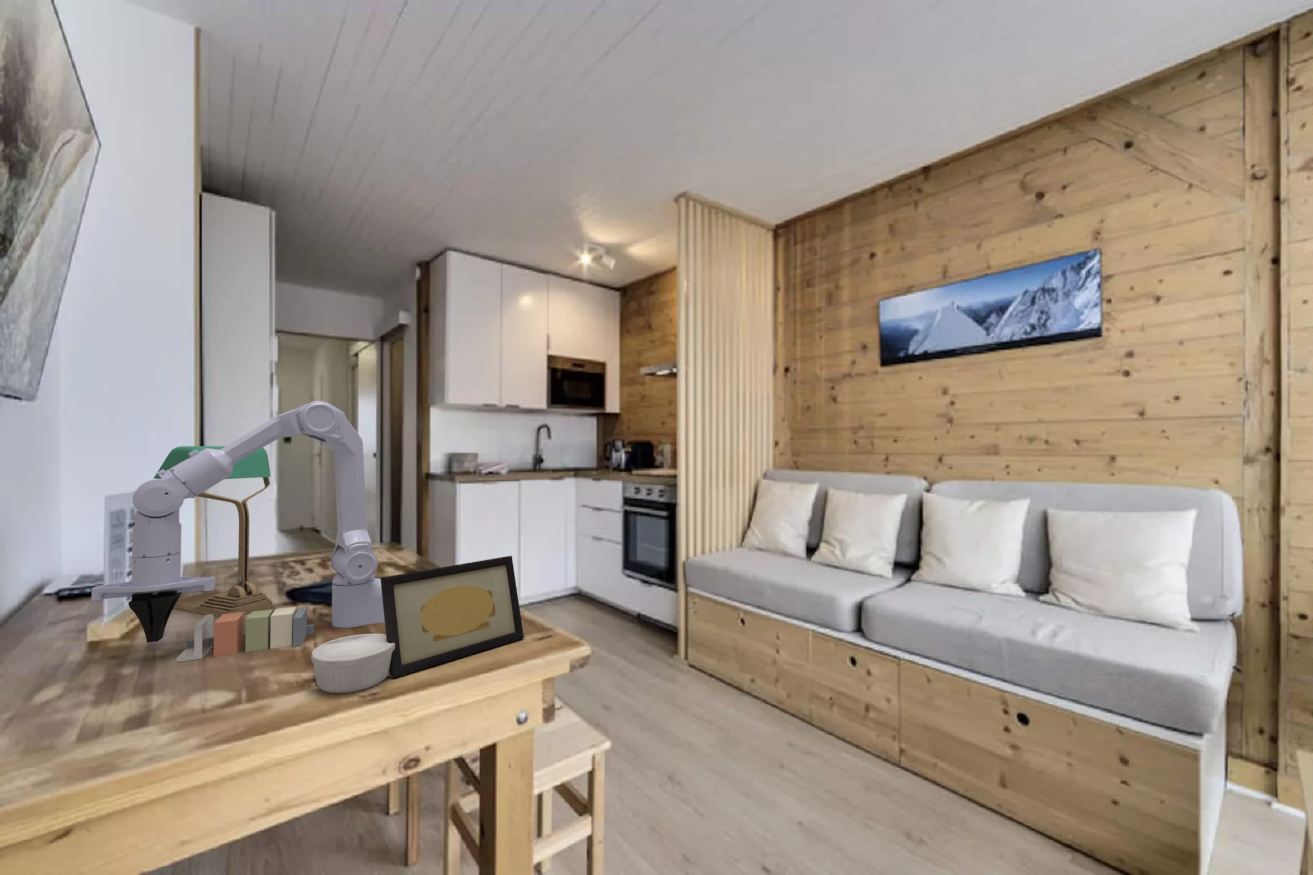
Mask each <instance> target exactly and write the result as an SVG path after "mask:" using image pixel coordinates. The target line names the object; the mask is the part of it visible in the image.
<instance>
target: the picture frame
mask: <svg viewBox="0 0 1313 875" xmlns="http://www.w3.org/2000/svg"><path fill="white" fill-rule="evenodd" d="M379 579H381V590H382V600H383V610H384V621H385V622H384V629H385V631H384V632H385V635H386V641H387V642H388V643H395V649H394V650H393V651H392V655H391V662H390V671H389V678H390V679H395V678H397V677H401V676H403V675H406V674H410V673H413V672H417V671H420V670H424V669H426V668H430V667H434V666H437V665H440V664H443V663H446V662H451V661H452V660H457V659H459V658H463V657H467V656H470V655H472V654H476V653H479V652H483V651H486V650H489V649H492V648H493V649H494V648H496V647H498V646H502V645H505V644H509V643H512V642H516V641H519V640H522V639H524V638H525V635H524V629H523V622H522V615H521V609H520V601H519V596H518V588H517V581H516V576H515V568H514V561H513V555H507V556H499V557H496V558H489V559H488V558H487V559H484V560H478V561H472V562H466V563H459V564H455V565H448V566H443V567H437V568H429V569H425V570H423V569H422V570H417V571H412V572H406V573H402V574H401V573H400V574H395V575H388V576H383V577H382V576H381V577H379Z"/></svg>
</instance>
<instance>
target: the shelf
mask: <svg viewBox="0 0 1313 875" xmlns="http://www.w3.org/2000/svg"><path fill="white" fill-rule="evenodd" d="M314 633H315V624H314V623H312V624H308V606H305V607H304V606H303V607H299V608H297V611H296V614H295V616H294V618H293V644H292V648H300V647H302V646H303V644H304V641H305V639H306V637H307V636H308V635H313V634H314ZM244 643H246V632H244ZM189 646H194V638H189V639H187V640H186V648H187V647H189ZM213 647H214V635H213Z"/></svg>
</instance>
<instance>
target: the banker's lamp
mask: <svg viewBox="0 0 1313 875" xmlns="http://www.w3.org/2000/svg"><path fill="white" fill-rule="evenodd" d="M226 446H227V445H225V446H224V445H223V446H222V445H216V446H215V445H212V446H211V445H198V446H197V445H194V446H193V445H192V446H191V445H182V446H176V447H174V448H172V449H171V450H170V452H169V453H168V455H167V456H166V457H165V458H164V461H163V462H162V463H161V466H160V467H159V469H158V470H157V472H159V471H161V470H165V471H167V470H170V468H172V467H174V466H176V465H177V464H179V463H181V462H183V461H185V460H186V459H188V458H190V456H189V455H188V454H189V453H191V452H193V451H194V450H197V451H198V452H200V451H202V450H204V449H206V448H209V449H218V450H221V449H222V448H224V447H226ZM170 471H171V470H170ZM157 472H156V474H155V475H154V476H153V479H161V478H160V476H159V475H158V474H157ZM171 472H172V471H171ZM172 473H173V472H172ZM271 477H272V476H271V470H270V461H269V455H268V452H267V449H265V448H264V447H263V448H261V449H259V450H257V451H256V452H254V453H252V454H250V455H249V456H247V457H245V458H243V459H242V460H240V461H238V462H236V463H235V464H234V465H233V471H232V475H230V476H229V477H227V478H225V479H224V480H234V479H253V478H257V479H259V478H262V480H263V484H264V487H263V488H261V489H260V490H258V491H256V492H254V493H253V494H251V495H249V496H248V497H246V498H244V499H243V500H241V501H239V500H238V499H234V498H229V497H226V496H221V495H218V494H217V495H216V494H215V493H214V494H213V493H209V492H206V491H204V492H203V493H201V494H199V495H198V496H196V495H195V496H196V497H199V498H202V499H203V498H204V499H211V500H216V501H221V502H227V503H230V504H231V503H232V504H233V505H235V507H236V509H237V512H238V513H237V514H238V550H237V551H238V557H237V558H238V559H237V560H238V561H237V563H238V564H237V583H236V584H235V585H234V586H230V587H229V589H228V591H226V592H222V593H219V592H218V591H217V590H211V591H206V592H204V593H198V594H194V595H190V596H184V597H182V598H181V597H180V598H179V599H178V601H177V603H176V604H175V606H174V608H173V610H176V611H181V612H186V613H187V612H188V613H194V614H198V615H203V616H205V615H210V614H213V618H218V619H219V618H220V617H221V616H222V615H223V614H229V613H238V612H245V616H247V615H250V614H251V613H252V612H253V611H262V610H270V609H272V608H273V600H271V598H270V597H268V595H266V593H264V591H263V592H262V591H258V588H257V586H256V584H255V583H253V582H249V576H250V575H249V574H250V573H249V571H250V570H249V568H250V567H249V566H250V512H249V507H248V501H249V500H250V499H252V498H253V497H255V496H257V495H258V494H261V493H262V492H265V490H266V489H268V488H269V486H270V485H271V480H270V478H271ZM153 479H152V480H153Z"/></svg>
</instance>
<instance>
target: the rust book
mask: <svg viewBox="0 0 1313 875" xmlns="http://www.w3.org/2000/svg"><path fill="white" fill-rule="evenodd" d="M245 617H246V615H245V612H238V613H229V614H223V615H222V616H221V617H220V618H219V617H218V619H216V621H214V622H213V636H214V646H213V657H222V656H229V655H237V654H238V653H239V651H240V650H241V648H242V647H243V646H244V644H245V642H244V633H245V625H246V618H245Z"/></svg>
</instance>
